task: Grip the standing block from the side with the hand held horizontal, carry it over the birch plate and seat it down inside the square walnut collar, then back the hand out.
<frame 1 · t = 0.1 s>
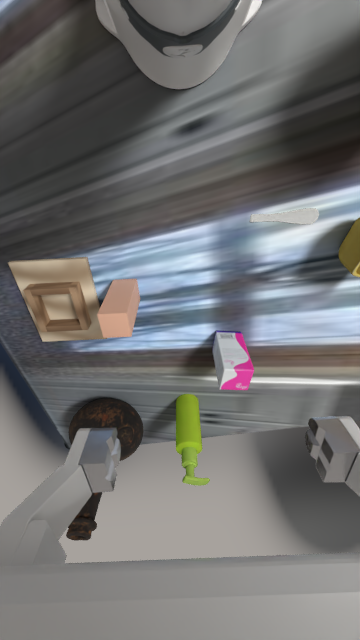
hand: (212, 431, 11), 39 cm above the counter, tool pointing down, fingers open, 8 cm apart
supplement box: (226, 340, 58), on the counter
butter knife: (245, 218, 44), on the counter
housing: (63, 302, 52), on the counter
block: (126, 289, 51), on the counter
glass bottle: (112, 408, 71), on the counter
soap dispenser: (188, 401, 70), on the counter
flower pot: (358, 236, 46), on the counter
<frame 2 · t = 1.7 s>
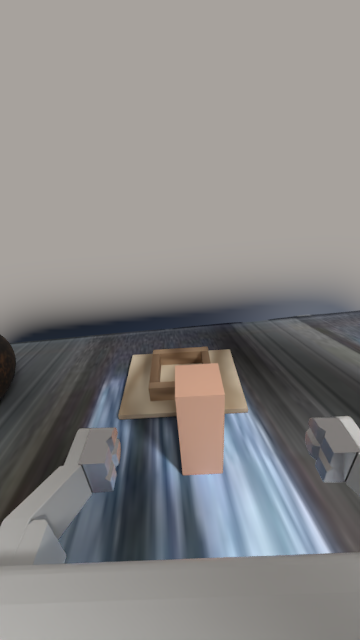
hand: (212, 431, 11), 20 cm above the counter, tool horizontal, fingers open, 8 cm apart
housing: (182, 381, 43), on the counter
block: (201, 455, 31), on the counter
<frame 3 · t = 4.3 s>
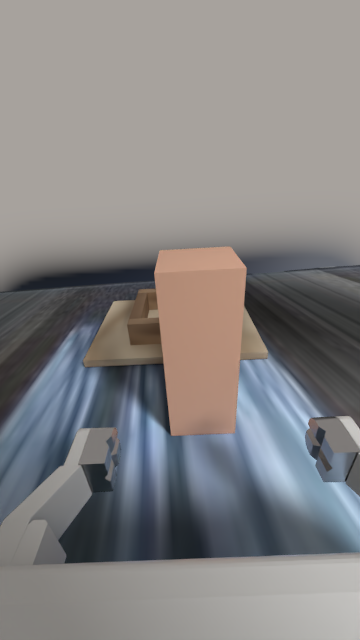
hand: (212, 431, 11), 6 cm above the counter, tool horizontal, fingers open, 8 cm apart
housing: (175, 327, 32), on the counter
block: (200, 409, 20), on the counter
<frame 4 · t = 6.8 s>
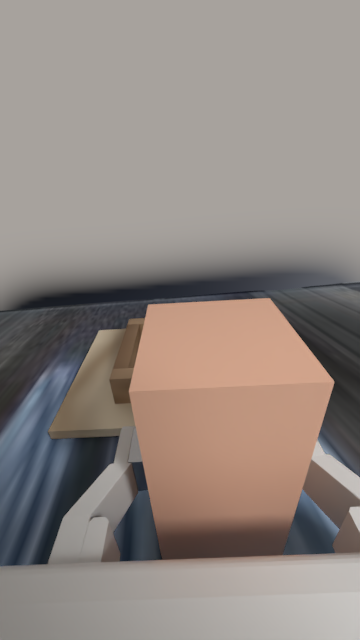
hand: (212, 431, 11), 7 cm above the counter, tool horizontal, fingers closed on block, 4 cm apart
housing: (175, 370, 25), on the counter
block: (213, 531, 13), on the counter, touching gripper
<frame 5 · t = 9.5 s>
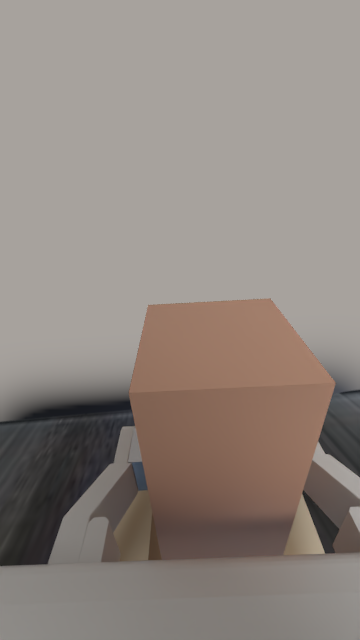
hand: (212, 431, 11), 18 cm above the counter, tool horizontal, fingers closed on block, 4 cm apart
housing: (212, 572, 21), on the counter
block: (213, 532, 13), point 12 cm above the counter, touching gripper
when the fingers open (8 cm above the counter, at t = 12.4 s): block stays where it is, resting on housing.
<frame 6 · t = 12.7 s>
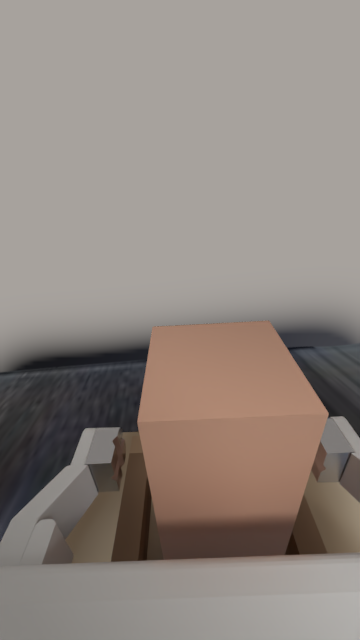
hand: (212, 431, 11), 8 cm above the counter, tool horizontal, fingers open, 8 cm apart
housing: (213, 546, 14), on the counter
block: (214, 540, 14), point 1 cm above the counter, touching housing
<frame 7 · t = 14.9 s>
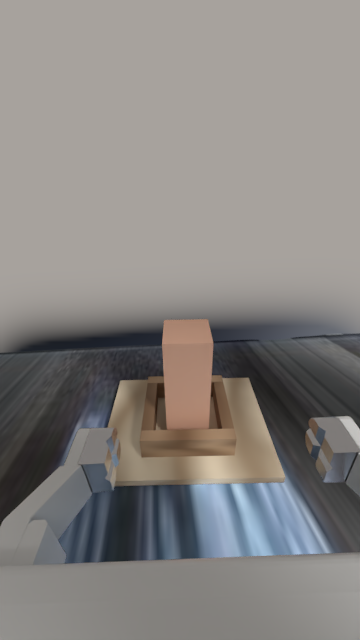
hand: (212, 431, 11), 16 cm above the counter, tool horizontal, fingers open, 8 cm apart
housing: (186, 423, 31), on the counter
block: (187, 419, 31), point 1 cm above the counter, touching housing
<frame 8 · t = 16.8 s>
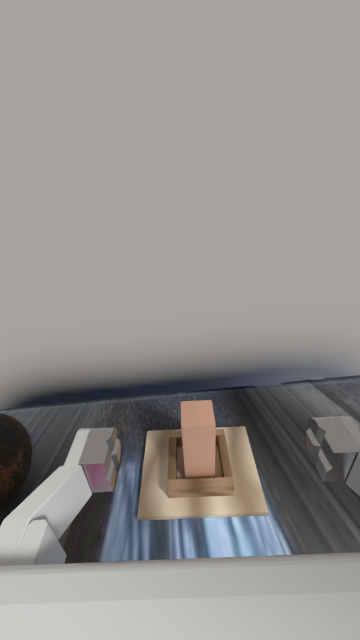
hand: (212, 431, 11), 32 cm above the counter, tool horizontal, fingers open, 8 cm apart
housing: (198, 468, 42), on the counter
block: (199, 465, 42), point 1 cm above the counter, touching housing
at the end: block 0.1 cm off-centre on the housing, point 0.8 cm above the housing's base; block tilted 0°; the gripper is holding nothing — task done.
